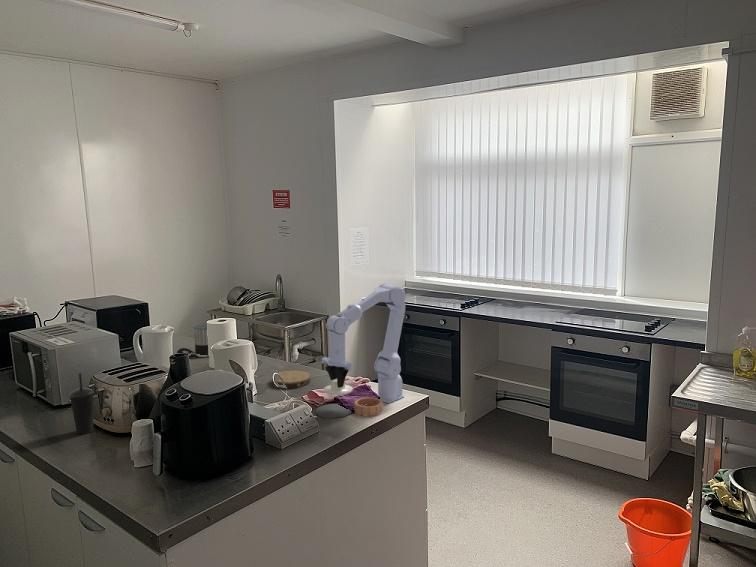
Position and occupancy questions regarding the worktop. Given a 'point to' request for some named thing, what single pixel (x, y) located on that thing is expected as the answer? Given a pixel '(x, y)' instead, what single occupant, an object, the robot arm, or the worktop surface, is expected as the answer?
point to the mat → (332, 411)
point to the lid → (337, 389)
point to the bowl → (368, 406)
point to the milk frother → (199, 340)
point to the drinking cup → (82, 408)
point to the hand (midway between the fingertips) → (337, 386)
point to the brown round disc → (293, 379)
